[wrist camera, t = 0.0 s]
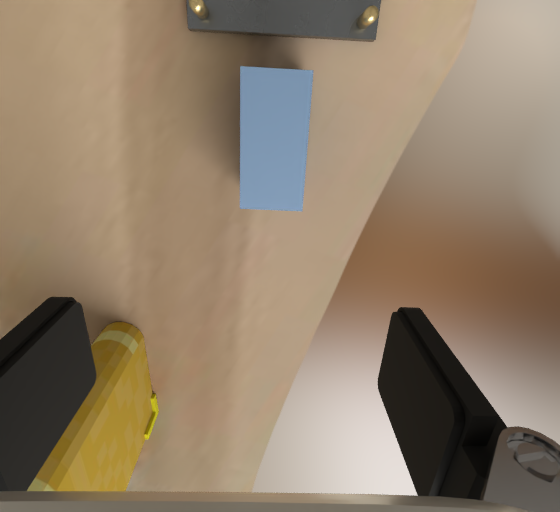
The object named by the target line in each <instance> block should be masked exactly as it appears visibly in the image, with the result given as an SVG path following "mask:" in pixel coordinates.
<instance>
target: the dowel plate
mask: <svg viewBox="0 0 560 512" xmlns="http://www.w3.org/2000/svg"><path fill="white" fill-rule="evenodd" d="M380 4H381V0H187V17H188V29H189V30H190V31H200V32H217V33H233V34H250V35H267V36H283V37H300V38H317V39H334V40H350V41H367V42H373V41H374V40H376V33H377V26H378V18H379V11H380Z"/></svg>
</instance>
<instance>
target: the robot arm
mask: <svg viewBox="0 0 560 512" xmlns="http://www.w3.org/2000/svg"><path fill="white" fill-rule="evenodd" d="M95 381H96V369H95V364H94V359H93V355H92V350H91V346H90V341H89V336H88V332H87V327H86V323H85V318H84V313H83V309H82V305H81V304H80V303H78V302H76V300H75V299H74V298H72V297H50V298H48V299H47V300H46V301H45V302H44V303H42V304H41V305H40V306H39V307H38V308H37V309H35V310H34V311H33V312H32V313H31V314H30V315H28V316H27V317H26V318H25V319H24V320H23V321H21V322H20V323H19V324H18V325H17V326H16V327H14V328H13V329H12V330H11V331H10V332H9V333H7V334H6V335H5V336H4V337H3V338H2V339H0V512H560V445H559V444H557V443H556V442H555V441H553V440H552V439H550V438H548V437H547V436H545V435H543V434H541V433H539V432H536V431H534V430H531V429H529V428H523V427H507V426H506V425H505V423H504V422H503V421H502V419H501V418H500V417H499V415H498V414H497V412H496V411H495V410H494V408H493V407H492V406H491V404H490V403H489V401H488V400H487V399H486V397H485V396H484V395H483V393H482V392H481V391H480V389H479V388H478V386H477V385H476V384H475V382H474V381H473V380H472V378H471V377H470V375H469V374H468V373H467V372H466V370H465V369H464V367H463V366H462V365H461V363H460V362H459V360H458V359H457V358H456V356H455V355H454V354H453V353H452V351H451V350H450V348H449V347H448V346H447V344H446V343H445V342H444V340H443V339H442V337H441V336H440V335H439V333H438V332H437V331H436V329H435V328H434V327H433V325H432V324H431V322H430V321H429V320H428V318H427V317H426V315H425V314H424V313H423V311H422V310H421V309H420V308H407V307H401V308H399V309H398V311H397V312H393V313H392V316H391V320H390V325H389V329H388V334H387V339H386V344H385V348H384V353H383V358H382V363H381V367H380V372H379V377H378V389H379V392H380V395H381V398H382V401H383V403H384V406H385V409H386V411H387V414H388V417H389V420H390V422H391V425H392V428H393V430H394V433H395V435H396V438H397V441H398V444H399V446H400V449H401V452H402V454H403V457H404V460H405V462H406V465H407V468H408V470H409V473H410V476H411V478H412V481H413V484H414V487H415V489H416V492H417V494H418V496H407V495H377V494H319V493H318V494H317V493H316V494H315V493H246V492H132V491H27V490H28V488H29V487H30V485H31V483H32V482H33V480H34V479H35V477H36V476H37V474H38V472H39V471H40V469H41V468H42V466H43V465H44V463H45V461H46V460H47V458H48V457H49V455H50V454H51V452H52V450H53V449H54V447H55V446H56V444H57V443H58V441H59V439H60V438H61V436H62V435H63V433H64V432H65V430H66V428H67V427H68V425H69V424H70V422H71V421H72V419H73V418H74V416H75V414H76V413H77V411H78V410H79V408H80V407H81V405H82V403H83V402H84V400H85V399H86V397H87V396H88V394H89V392H90V391H91V389H92V388H93V386H94V384H95Z"/></svg>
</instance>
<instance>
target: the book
mask: <svg viewBox="0 0 560 512" xmlns="http://www.w3.org/2000/svg"><path fill="white" fill-rule="evenodd" d="M91 350H92V355H93V359H94V364H95V369H96V381H95V384H94V386H93V388H92V389H91V391H90V392H89V394H88V396H87V397H86V399H85V400H84V402H83V403H82V405H81V407H80V408H79V410H78V411H77V413H76V414H75V416H74V418H73V419H72V421H71V422H70V424H69V425H68V427H67V428H66V430H65V432H64V433H63V435H62V436H61V438H60V439H59V441H58V443H57V444H56V446H55V447H54V449H53V450H52V452H51V454H50V455H49V457H48V458H47V460H46V461H45V463H44V465H43V466H42V468H41V469H40V471H39V472H38V474H37V476H36V477H35V479H34V480H33V482H32V483H31V485H30V487H29V488H28V490H27V491H126V488H127V486H128V483H129V480H130V478H131V475H132V472H133V470H134V467H135V465H136V462H137V459H138V457H139V454H140V451H141V449H142V446H143V444H144V441H145V439H149V436H150V434H151V431H152V428H153V426H154V423H155V420H156V418H157V415H158V412H159V411H158V405H157V399H156V394H153V393H152V387H151V381H150V375H149V369H148V362H147V356H146V350H145V344H144V338H143V335H142V334H141V332H140V331H139V329H137V328H136V327H134V326H133V325H131V324H128V323H125V322H114V323H112V324H109V325H107V326H106V327H105V328H104V329H103V331H102V332H101V333H100V335H99V336H98V337H97V339H96V340H95V341H94V343H93V344H92V345H91Z"/></svg>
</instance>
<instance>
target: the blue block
mask: <svg viewBox="0 0 560 512" xmlns="http://www.w3.org/2000/svg"><path fill="white" fill-rule="evenodd" d="M312 81H313V70H297V69H280V68H263V67H246V66H240V209H262V210H285V211H302V208H303V196H304V183H305V170H306V158H307V145H308V132H309V119H310V107H311V94H312Z"/></svg>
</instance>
